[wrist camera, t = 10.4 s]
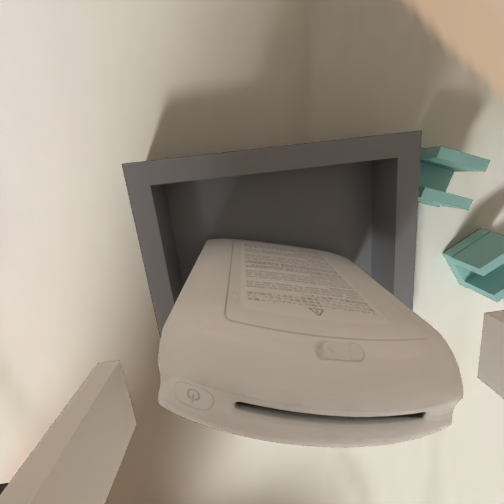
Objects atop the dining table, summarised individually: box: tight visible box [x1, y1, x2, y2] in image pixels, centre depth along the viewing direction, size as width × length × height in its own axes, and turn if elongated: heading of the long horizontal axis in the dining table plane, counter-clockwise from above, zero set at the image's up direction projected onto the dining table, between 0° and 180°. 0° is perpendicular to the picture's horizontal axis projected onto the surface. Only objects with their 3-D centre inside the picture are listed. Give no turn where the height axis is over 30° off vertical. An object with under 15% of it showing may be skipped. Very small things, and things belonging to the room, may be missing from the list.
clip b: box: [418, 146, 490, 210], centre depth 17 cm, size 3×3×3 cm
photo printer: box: [158, 238, 463, 448], centre depth 14 cm, size 10×4×12 cm, turn 82°
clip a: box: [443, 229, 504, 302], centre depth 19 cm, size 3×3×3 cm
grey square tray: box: [122, 130, 422, 338], centre depth 18 cm, size 15×15×4 cm
